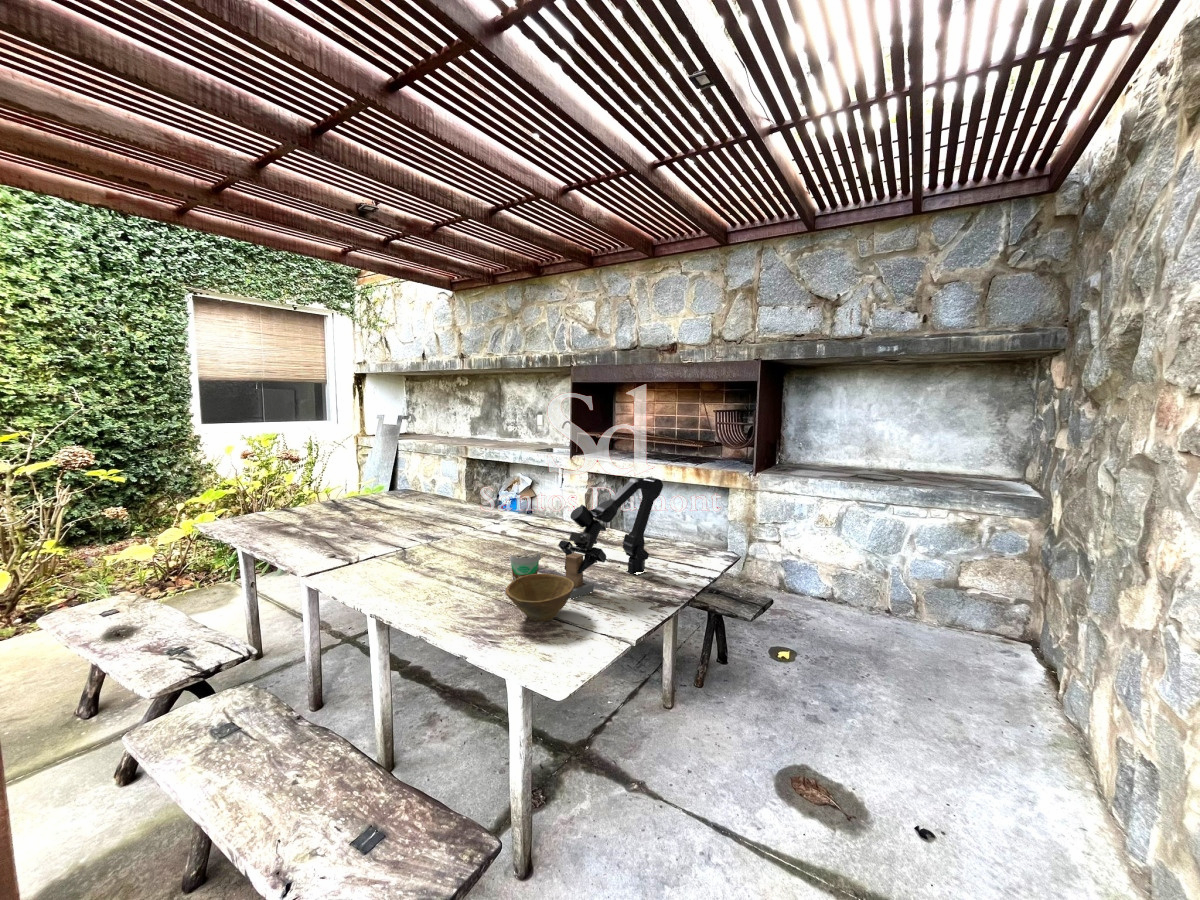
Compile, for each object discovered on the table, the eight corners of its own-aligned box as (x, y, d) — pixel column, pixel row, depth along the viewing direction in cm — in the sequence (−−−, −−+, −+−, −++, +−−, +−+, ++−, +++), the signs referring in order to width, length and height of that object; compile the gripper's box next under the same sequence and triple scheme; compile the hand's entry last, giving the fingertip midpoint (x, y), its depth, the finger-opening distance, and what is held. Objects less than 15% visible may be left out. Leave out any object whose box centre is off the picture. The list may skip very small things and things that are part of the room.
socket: (576, 584, 187) (576, 576, 186) (593, 592, 179) (593, 584, 179) (555, 590, 180) (555, 583, 180) (571, 599, 173) (571, 591, 172)
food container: (510, 585, 185) (510, 559, 184) (509, 579, 191) (508, 554, 190) (543, 582, 188) (543, 557, 187) (540, 576, 194) (540, 552, 193)
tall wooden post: (573, 586, 183) (573, 552, 181) (582, 589, 180) (583, 555, 179) (565, 590, 179) (565, 556, 178) (575, 593, 177) (575, 558, 175)
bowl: (492, 614, 160) (491, 585, 159) (547, 595, 176) (547, 568, 175) (532, 639, 145) (532, 606, 144) (589, 615, 161) (589, 585, 160)
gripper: (561, 519, 185) (541, 555, 178) (602, 527, 175) (583, 566, 167) (573, 534, 193) (555, 570, 185) (614, 543, 182) (596, 581, 174)
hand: (572, 571), depth 178 cm, fingers open, 6 cm apart
